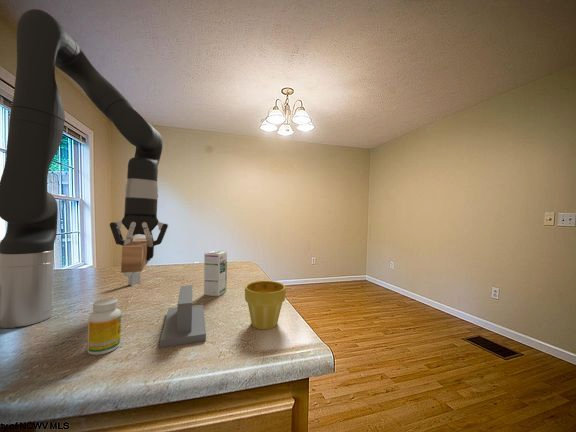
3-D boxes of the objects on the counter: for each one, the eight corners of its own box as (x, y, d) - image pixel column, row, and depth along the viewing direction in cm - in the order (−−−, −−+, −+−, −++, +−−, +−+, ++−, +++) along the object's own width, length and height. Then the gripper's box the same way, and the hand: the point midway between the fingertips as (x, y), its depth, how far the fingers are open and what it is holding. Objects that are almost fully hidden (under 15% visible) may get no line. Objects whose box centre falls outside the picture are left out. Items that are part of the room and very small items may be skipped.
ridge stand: (159, 347, 50) (160, 309, 50) (168, 313, 67) (169, 284, 67) (205, 340, 53) (206, 304, 53) (202, 309, 70) (203, 282, 70)
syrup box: (219, 296, 81) (220, 253, 81) (203, 295, 82) (204, 252, 82) (226, 291, 87) (227, 251, 87) (211, 290, 88) (212, 250, 88)
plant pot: (268, 338, 55) (269, 295, 55) (235, 325, 61) (236, 287, 60) (292, 321, 64) (293, 284, 64) (261, 312, 69) (262, 278, 69)
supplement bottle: (85, 348, 49) (86, 300, 49) (117, 338, 53) (118, 295, 53) (89, 359, 45) (91, 308, 45) (123, 348, 49) (124, 301, 49)
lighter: (137, 282, 94) (137, 262, 94) (140, 282, 94) (141, 262, 94) (120, 287, 87) (121, 265, 87) (124, 288, 87) (125, 266, 87)
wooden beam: (141, 271, 57) (142, 246, 57) (121, 272, 55) (122, 246, 55) (151, 257, 75) (152, 238, 75) (136, 257, 74) (137, 237, 74)
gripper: (105, 194, 59) (102, 263, 59) (169, 198, 65) (166, 262, 64) (114, 196, 66) (112, 258, 66) (172, 199, 72) (169, 257, 71)
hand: (138, 260), depth 65 cm, fingers closed on wooden beam, 4 cm apart
